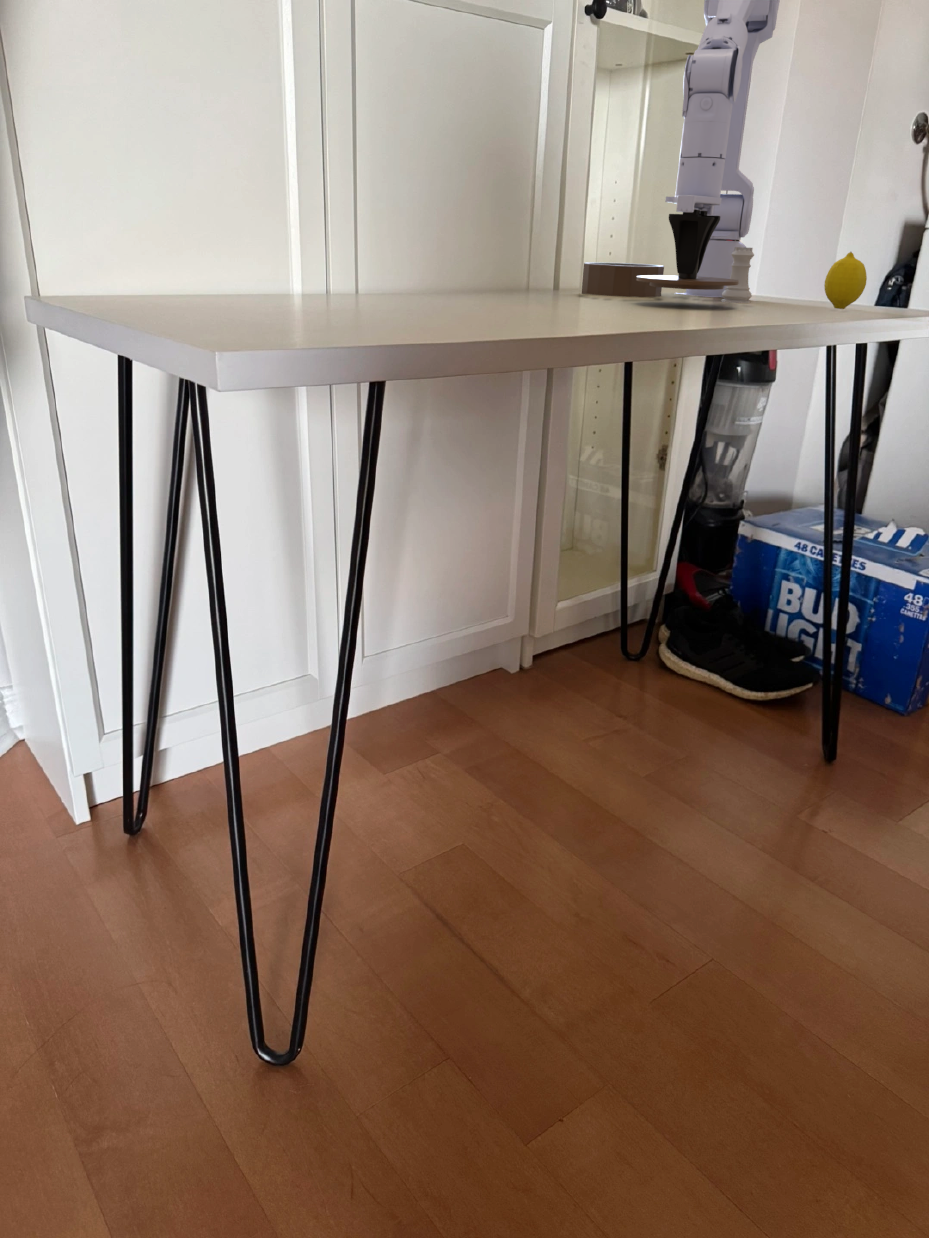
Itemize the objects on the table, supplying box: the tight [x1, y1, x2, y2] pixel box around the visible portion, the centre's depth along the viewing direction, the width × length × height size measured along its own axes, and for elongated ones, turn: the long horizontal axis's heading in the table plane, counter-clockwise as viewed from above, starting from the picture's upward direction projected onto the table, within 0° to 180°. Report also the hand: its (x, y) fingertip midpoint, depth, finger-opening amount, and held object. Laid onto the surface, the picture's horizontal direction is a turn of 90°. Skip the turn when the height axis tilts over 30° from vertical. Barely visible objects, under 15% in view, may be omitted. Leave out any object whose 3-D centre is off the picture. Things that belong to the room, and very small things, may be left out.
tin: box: [581, 261, 665, 298], centre depth 139 cm, size 12×12×5 cm
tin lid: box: [636, 260, 739, 290], centre depth 118 cm, size 14×14×6 cm
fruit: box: [823, 251, 868, 310], centre depth 127 cm, size 6×6×8 cm
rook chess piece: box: [720, 246, 755, 304], centre depth 130 cm, size 4×4×8 cm
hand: (687, 273), depth 118 cm, fingers closed on tin lid, 2 cm apart
